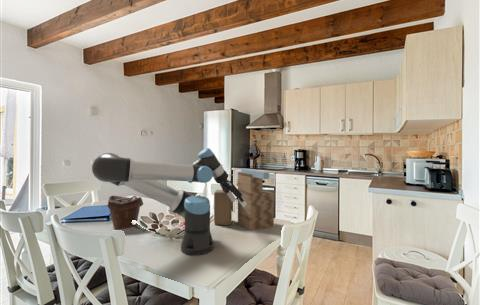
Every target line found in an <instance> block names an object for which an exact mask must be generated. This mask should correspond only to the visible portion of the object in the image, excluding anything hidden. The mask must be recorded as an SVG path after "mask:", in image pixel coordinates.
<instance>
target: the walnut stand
mask: <svg viewBox="0 0 480 305" xmlns="http://www.w3.org/2000/svg"><path fill="white" fill-rule="evenodd" d="M263 180H264V179H260V178H256V177H252V174H246V173H241V171H238V172H237V189H238V190H239V191H240V193H241V194H242V197H243V199H244V200H245V202H246V203H247V205H246V206H245V207H242V205H241V204H240V202H239V201H238V200H237V223H238V224H240V225H242V226H243V227H245V228H247V229H248V230H250V231H254V230H259V229H265V228H269V227H274V226H275V224H274V223H275V221H274V220H275V199H274V197H275V193H273V192H270V191H267V190H265V191H264V190H263V189H264V186H263V183H264V182H263Z"/></svg>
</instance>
